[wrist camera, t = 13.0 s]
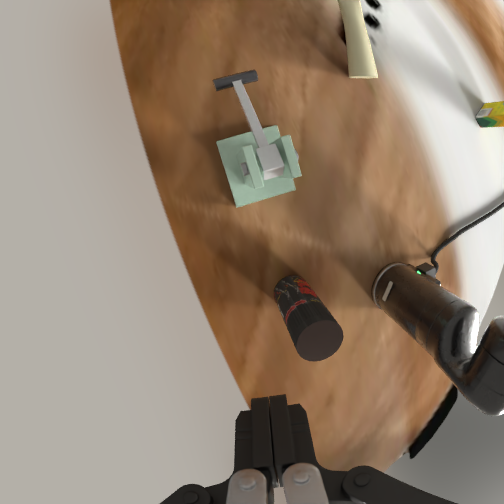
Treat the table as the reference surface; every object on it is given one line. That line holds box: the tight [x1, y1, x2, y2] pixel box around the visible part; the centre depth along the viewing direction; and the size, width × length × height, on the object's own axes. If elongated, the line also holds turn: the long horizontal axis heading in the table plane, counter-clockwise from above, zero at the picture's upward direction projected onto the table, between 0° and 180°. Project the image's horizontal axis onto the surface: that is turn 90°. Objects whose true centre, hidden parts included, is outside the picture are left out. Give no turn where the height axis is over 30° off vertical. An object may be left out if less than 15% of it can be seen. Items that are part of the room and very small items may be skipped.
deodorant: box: [274, 275, 343, 361], centre depth 39 cm, size 6×6×15 cm
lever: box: [213, 70, 284, 180], centre depth 29 cm, size 15×6×2 cm, turn 17°
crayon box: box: [475, 101, 504, 127], centre depth 35 cm, size 7×3×12 cm, turn 134°
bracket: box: [216, 125, 302, 207], centre depth 33 cm, size 10×9×14 cm
